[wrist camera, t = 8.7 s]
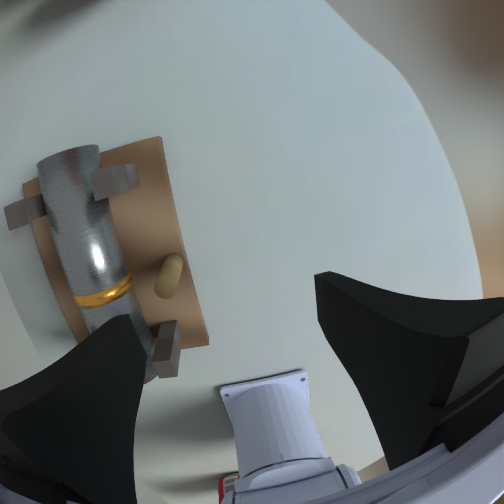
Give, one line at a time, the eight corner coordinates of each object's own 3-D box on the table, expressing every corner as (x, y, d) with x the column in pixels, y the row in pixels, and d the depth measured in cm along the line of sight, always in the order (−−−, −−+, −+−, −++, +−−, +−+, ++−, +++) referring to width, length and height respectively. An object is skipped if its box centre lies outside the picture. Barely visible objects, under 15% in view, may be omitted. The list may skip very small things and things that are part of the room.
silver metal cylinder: (164, 347, 20) (162, 383, 16) (118, 355, 20) (108, 390, 16) (107, 146, 15) (84, 142, 11) (54, 165, 14) (23, 167, 11)
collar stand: (208, 337, 21) (209, 386, 16) (90, 352, 21) (69, 394, 15) (161, 137, 16) (139, 129, 11) (29, 182, 15) (-17, 194, 10)
